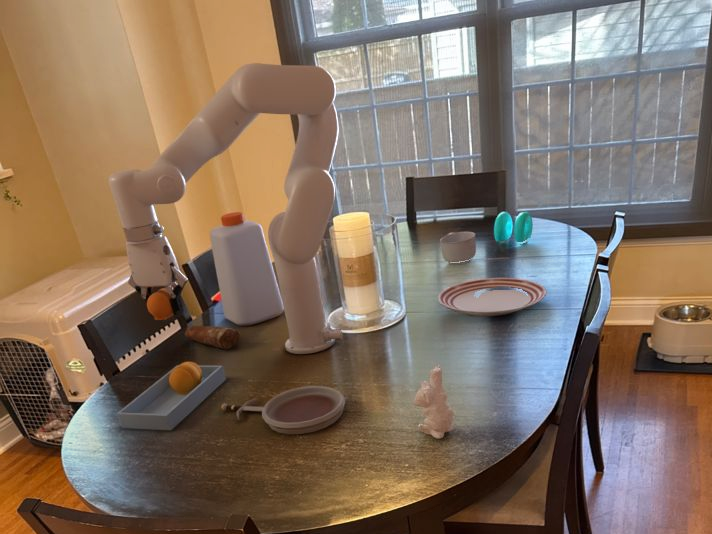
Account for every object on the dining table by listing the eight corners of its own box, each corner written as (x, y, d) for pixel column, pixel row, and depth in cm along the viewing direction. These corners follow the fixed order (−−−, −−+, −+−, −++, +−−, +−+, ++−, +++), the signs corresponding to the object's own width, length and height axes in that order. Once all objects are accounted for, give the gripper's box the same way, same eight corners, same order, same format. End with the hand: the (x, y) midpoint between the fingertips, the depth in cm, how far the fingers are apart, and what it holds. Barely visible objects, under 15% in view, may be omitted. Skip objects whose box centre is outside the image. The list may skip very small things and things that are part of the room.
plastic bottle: (266, 303, 201) (245, 205, 186) (290, 313, 190) (269, 210, 175) (220, 318, 195) (195, 218, 180) (242, 329, 184) (216, 224, 169)
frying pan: (239, 383, 147) (356, 384, 137) (242, 395, 149) (358, 397, 138) (198, 420, 134) (324, 425, 124) (202, 433, 136) (327, 438, 125)
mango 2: (209, 380, 156) (203, 357, 153) (190, 397, 149) (183, 373, 146) (188, 380, 158) (181, 357, 154) (168, 397, 151) (160, 373, 148)
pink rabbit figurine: (428, 420, 126) (423, 361, 120) (462, 423, 123) (459, 363, 117) (412, 442, 120) (405, 382, 114) (447, 446, 117) (443, 384, 111)
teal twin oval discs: (522, 248, 213) (522, 216, 207) (493, 248, 218) (492, 216, 212) (533, 240, 219) (534, 208, 214) (505, 239, 224) (504, 208, 219)
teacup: (478, 264, 205) (477, 237, 201) (443, 269, 206) (441, 242, 201) (472, 252, 217) (471, 227, 212) (439, 257, 217) (437, 231, 213)
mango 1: (188, 308, 156) (181, 283, 153) (167, 322, 150) (159, 296, 146) (167, 308, 158) (160, 284, 155) (146, 322, 152) (138, 297, 148)
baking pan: (226, 379, 156) (222, 365, 154) (171, 430, 137) (166, 415, 136) (181, 378, 160) (177, 365, 158) (121, 428, 142) (116, 413, 140)
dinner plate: (512, 280, 188) (512, 268, 186) (567, 306, 165) (568, 293, 163) (422, 302, 182) (421, 290, 181) (467, 333, 160) (466, 319, 158)
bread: (225, 354, 170) (219, 333, 167) (183, 342, 182) (177, 322, 179) (244, 345, 173) (239, 324, 170) (202, 334, 185) (196, 314, 182)
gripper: (185, 226, 144) (207, 307, 154) (121, 230, 150) (145, 308, 160) (166, 235, 138) (190, 319, 148) (100, 239, 144) (127, 319, 154)
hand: (166, 312), depth 154 cm, fingers closed on mango 1, 5 cm apart
